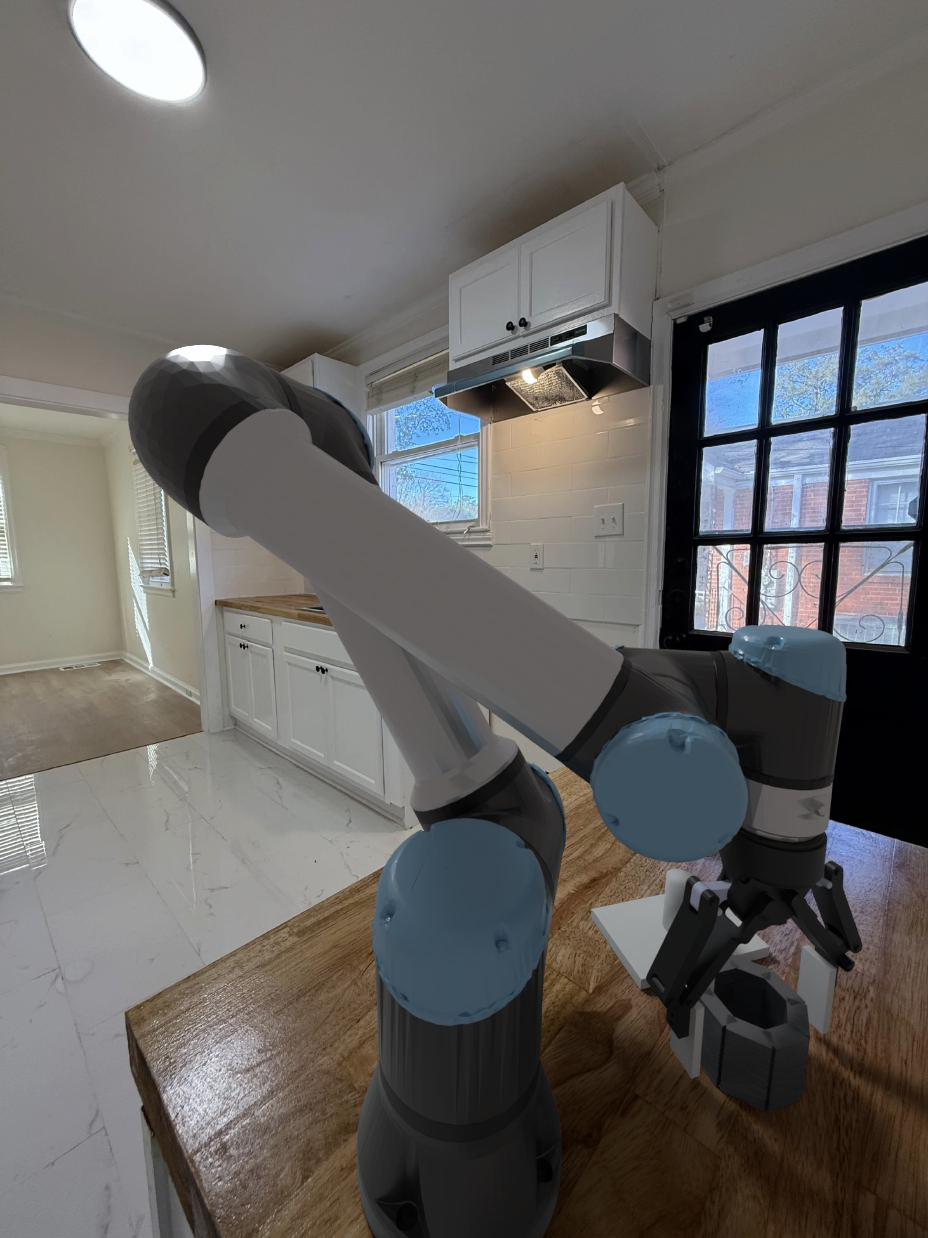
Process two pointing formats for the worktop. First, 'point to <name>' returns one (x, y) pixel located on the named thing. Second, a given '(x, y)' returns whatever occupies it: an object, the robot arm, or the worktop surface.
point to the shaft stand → (654, 927)
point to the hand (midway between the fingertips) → (750, 1040)
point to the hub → (755, 1035)
